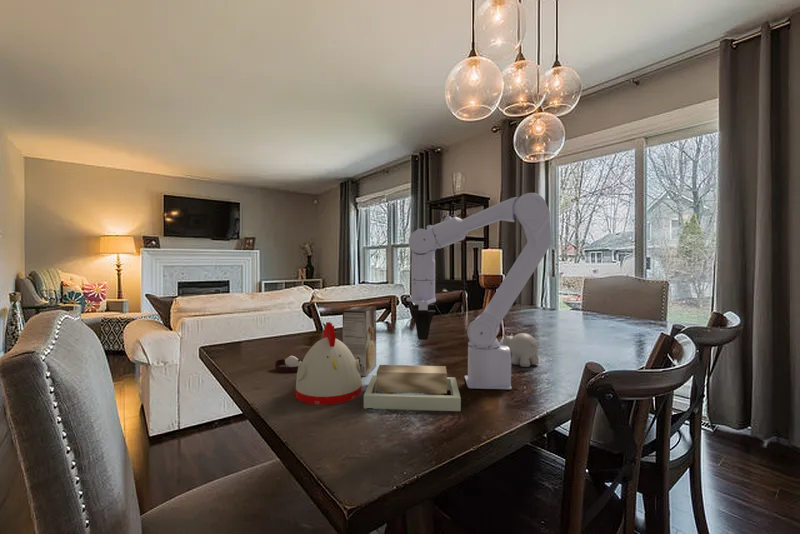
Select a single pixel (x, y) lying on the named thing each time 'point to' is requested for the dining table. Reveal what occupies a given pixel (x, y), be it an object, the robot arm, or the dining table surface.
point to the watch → (290, 362)
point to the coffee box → (361, 335)
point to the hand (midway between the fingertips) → (422, 336)
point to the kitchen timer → (328, 372)
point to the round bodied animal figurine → (522, 349)
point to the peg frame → (413, 399)
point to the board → (412, 379)
